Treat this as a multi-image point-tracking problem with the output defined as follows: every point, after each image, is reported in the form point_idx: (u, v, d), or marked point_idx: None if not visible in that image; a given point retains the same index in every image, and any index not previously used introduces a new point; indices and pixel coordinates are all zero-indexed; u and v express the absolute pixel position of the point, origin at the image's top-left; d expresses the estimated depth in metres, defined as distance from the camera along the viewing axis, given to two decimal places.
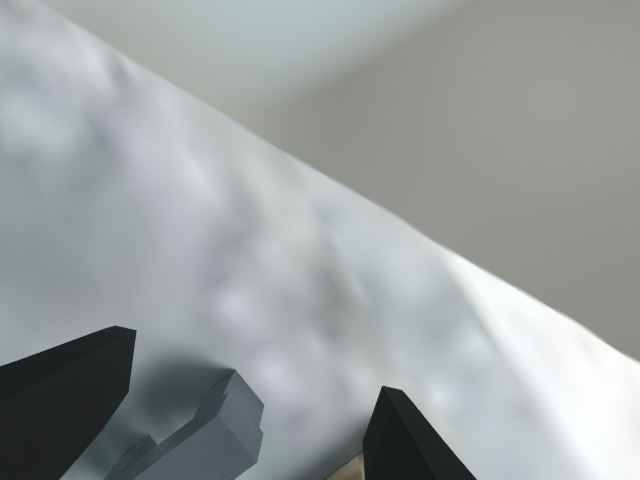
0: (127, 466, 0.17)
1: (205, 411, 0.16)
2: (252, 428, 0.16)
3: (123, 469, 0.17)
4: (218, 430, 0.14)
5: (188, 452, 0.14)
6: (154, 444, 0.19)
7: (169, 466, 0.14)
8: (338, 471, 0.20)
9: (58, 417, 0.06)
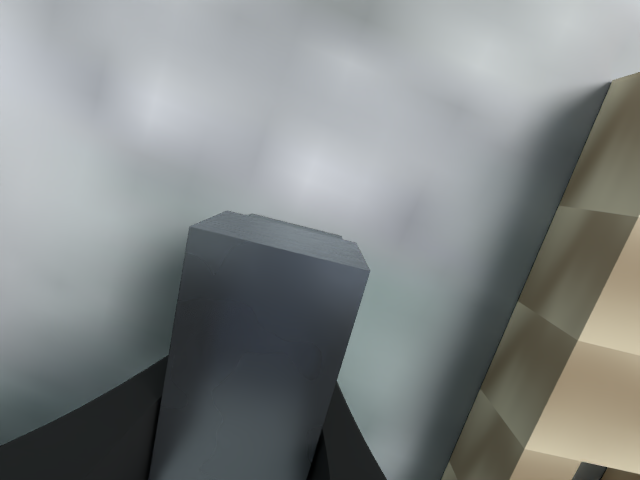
0: None
1: None
2: (322, 239, 0.06)
3: None
4: (222, 261, 0.05)
5: (203, 355, 0.05)
6: None
7: (192, 408, 0.06)
8: (542, 252, 0.10)
9: None
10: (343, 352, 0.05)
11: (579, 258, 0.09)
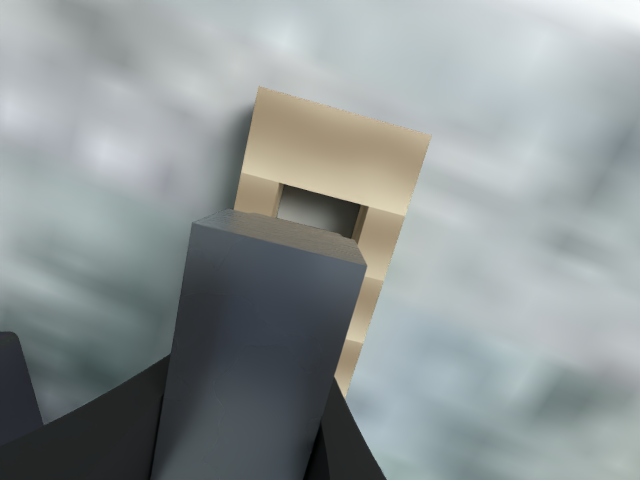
0: None
1: None
2: (321, 236, 0.07)
3: None
4: (224, 256, 0.05)
5: (205, 348, 0.06)
6: None
7: (195, 400, 0.06)
8: None
9: None
10: (341, 345, 0.05)
11: None
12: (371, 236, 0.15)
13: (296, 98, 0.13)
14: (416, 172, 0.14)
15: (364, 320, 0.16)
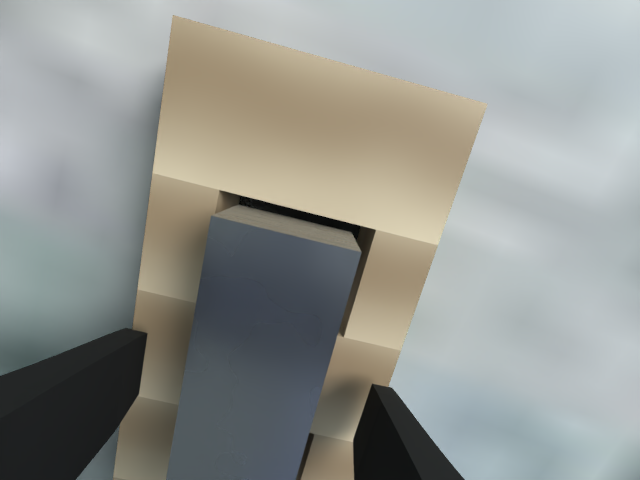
0: None
1: None
2: (321, 228, 0.07)
3: None
4: (238, 245, 0.06)
5: (221, 325, 0.06)
6: None
7: (212, 371, 0.07)
8: None
9: (73, 421, 0.06)
10: (339, 321, 0.06)
11: None
12: (380, 279, 0.09)
13: (243, 38, 0.07)
14: (459, 169, 0.08)
15: None
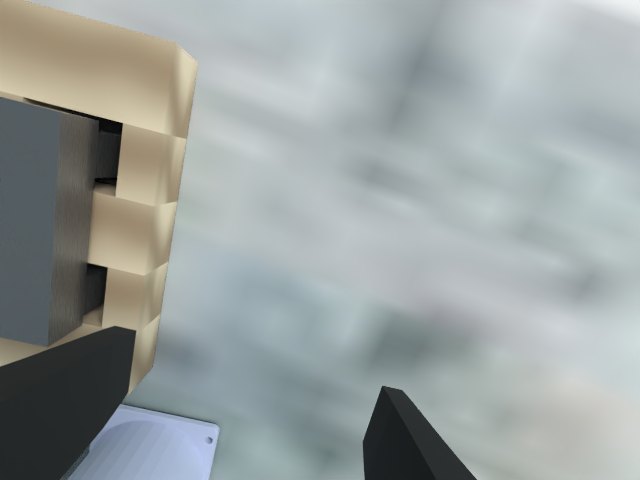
0: None
1: None
2: None
3: None
4: None
5: None
6: None
7: None
8: None
9: (58, 418, 0.06)
10: (57, 154, 0.12)
11: None
12: (131, 156, 0.14)
13: (25, 2, 0.13)
14: (166, 83, 0.13)
15: (140, 250, 0.15)
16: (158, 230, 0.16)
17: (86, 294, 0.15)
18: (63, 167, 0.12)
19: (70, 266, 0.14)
